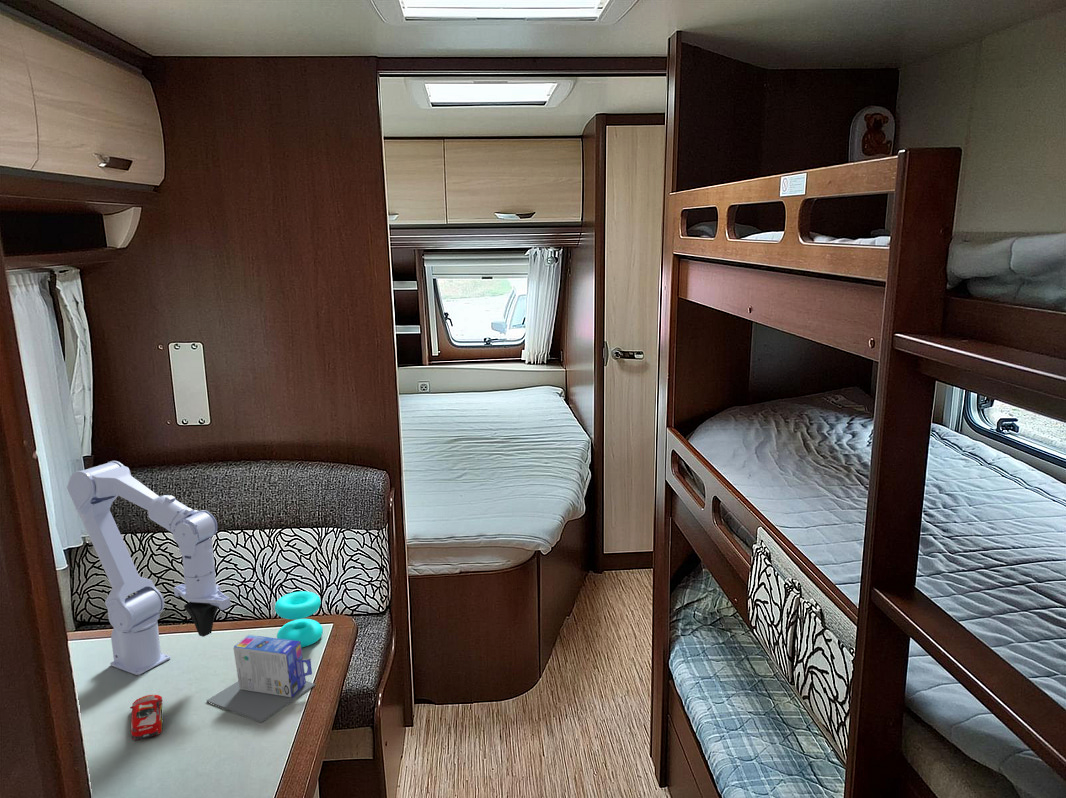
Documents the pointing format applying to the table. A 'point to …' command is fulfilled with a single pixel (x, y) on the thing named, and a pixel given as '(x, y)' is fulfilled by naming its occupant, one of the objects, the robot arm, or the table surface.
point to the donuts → (299, 617)
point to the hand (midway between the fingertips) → (205, 634)
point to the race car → (146, 717)
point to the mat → (254, 701)
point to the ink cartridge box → (270, 665)
